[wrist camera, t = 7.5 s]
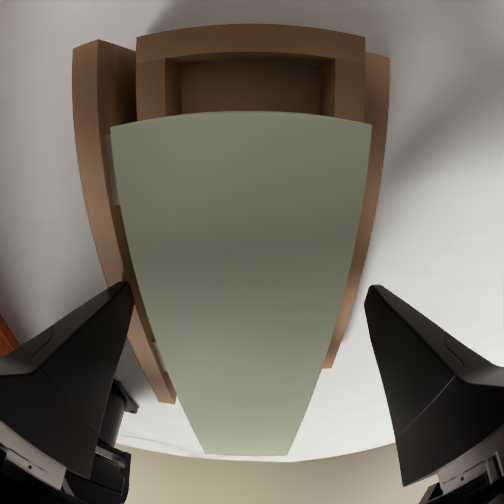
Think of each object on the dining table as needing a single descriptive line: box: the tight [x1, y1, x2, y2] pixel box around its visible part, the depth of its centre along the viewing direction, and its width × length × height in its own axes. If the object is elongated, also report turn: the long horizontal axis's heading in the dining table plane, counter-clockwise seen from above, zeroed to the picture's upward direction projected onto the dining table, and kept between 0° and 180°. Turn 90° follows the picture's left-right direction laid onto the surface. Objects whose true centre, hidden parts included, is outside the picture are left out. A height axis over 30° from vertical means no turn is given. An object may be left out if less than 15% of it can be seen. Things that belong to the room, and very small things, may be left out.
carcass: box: [72, 24, 390, 404], centre depth 11 cm, size 18×11×4 cm, turn 0°
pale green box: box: [110, 111, 372, 456], centre depth 9 cm, size 12×4×7 cm, turn 0°
